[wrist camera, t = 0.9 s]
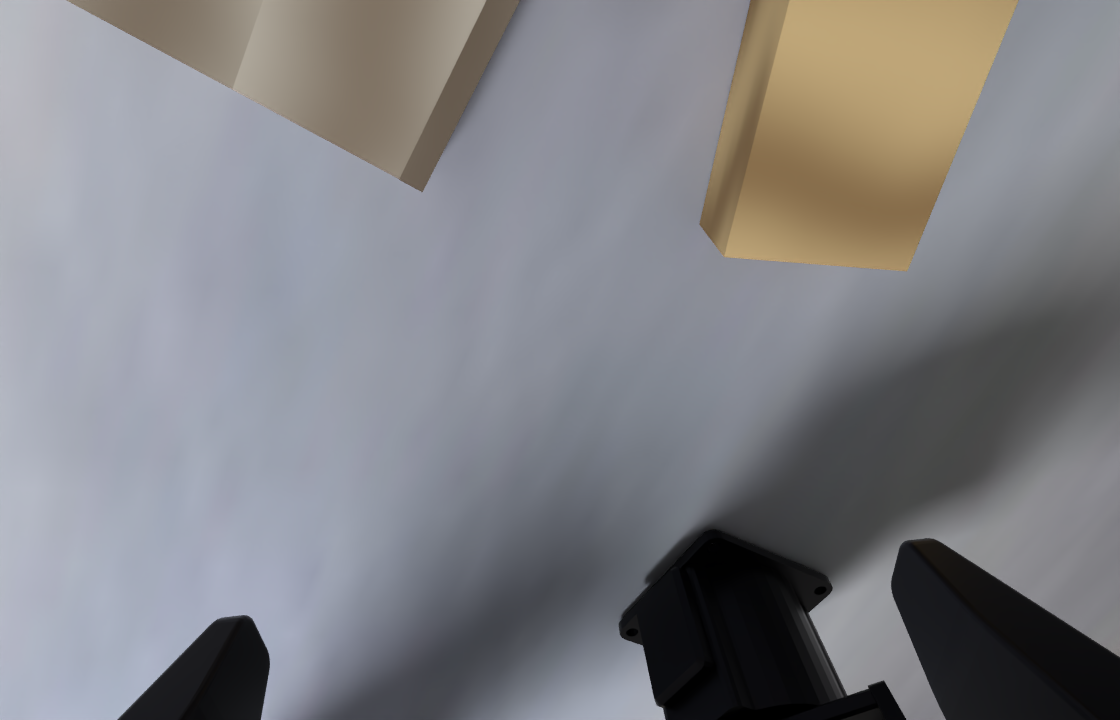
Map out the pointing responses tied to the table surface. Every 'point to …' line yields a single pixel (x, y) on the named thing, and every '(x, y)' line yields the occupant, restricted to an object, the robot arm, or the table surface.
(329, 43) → the floor board
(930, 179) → the plank
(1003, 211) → the table surface
